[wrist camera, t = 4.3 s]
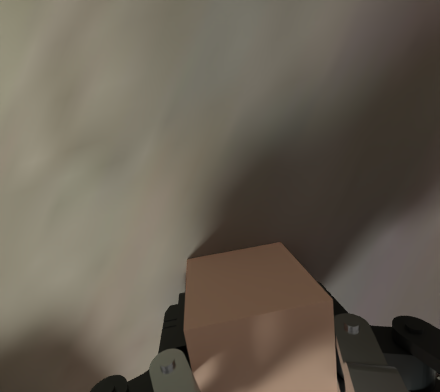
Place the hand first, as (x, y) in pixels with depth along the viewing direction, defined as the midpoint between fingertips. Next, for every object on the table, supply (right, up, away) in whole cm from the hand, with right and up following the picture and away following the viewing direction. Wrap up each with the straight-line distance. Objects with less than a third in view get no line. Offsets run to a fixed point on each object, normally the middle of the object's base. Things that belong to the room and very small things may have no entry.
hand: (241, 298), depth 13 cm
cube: (0, 0, 0) cm, 0 cm away
